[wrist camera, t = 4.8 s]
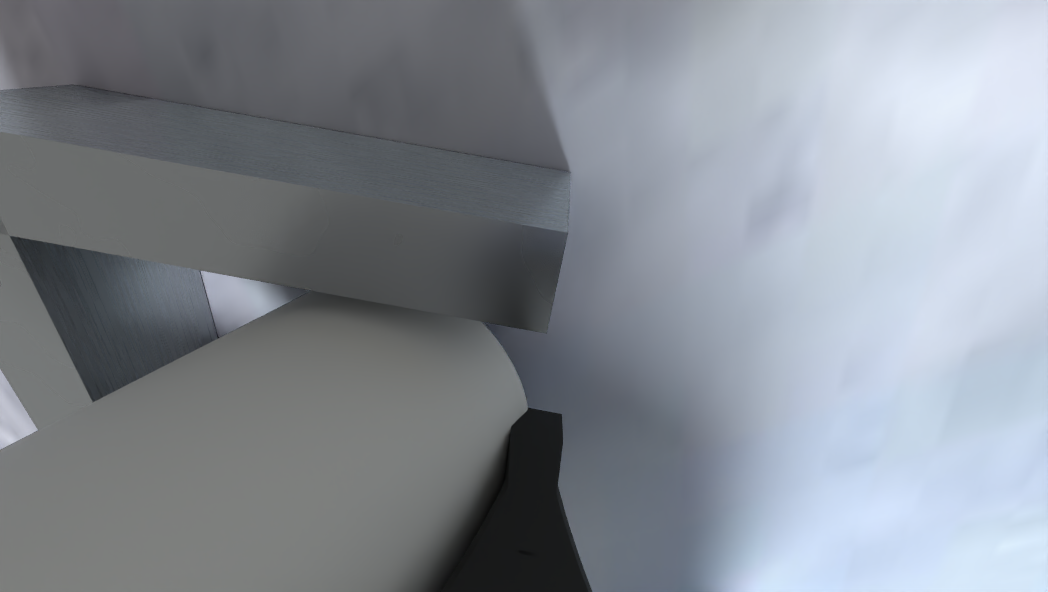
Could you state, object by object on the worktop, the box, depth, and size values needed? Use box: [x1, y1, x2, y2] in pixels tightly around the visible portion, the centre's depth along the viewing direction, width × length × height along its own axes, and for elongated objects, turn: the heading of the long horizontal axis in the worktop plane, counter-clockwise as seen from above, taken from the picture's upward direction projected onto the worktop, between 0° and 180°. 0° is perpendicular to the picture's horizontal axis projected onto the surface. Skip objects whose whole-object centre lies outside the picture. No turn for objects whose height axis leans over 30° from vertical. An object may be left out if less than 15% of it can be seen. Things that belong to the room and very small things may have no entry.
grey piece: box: [0, 85, 571, 430], centre depth 11 cm, size 11×11×4 cm
